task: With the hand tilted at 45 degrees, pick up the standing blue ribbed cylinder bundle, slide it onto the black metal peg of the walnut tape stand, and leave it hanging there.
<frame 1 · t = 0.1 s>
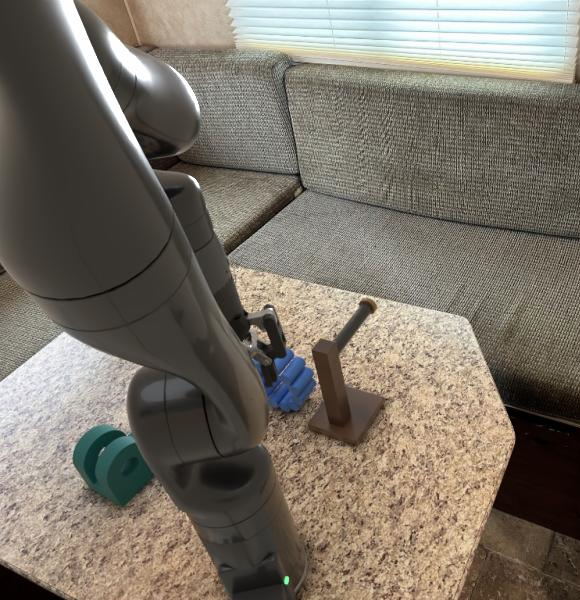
hand: (233, 388, 70), 17 cm above the table, tool pointing down, fingers open, 8 cm apart
bracket: (156, 448, 87), on the table
cup: (156, 327, 108), on the table
blue ribbed cylinder bundle: (287, 400, 91), on the table
pill bottle: (223, 322, 107), on the table
tape stand: (341, 424, 87), on the table
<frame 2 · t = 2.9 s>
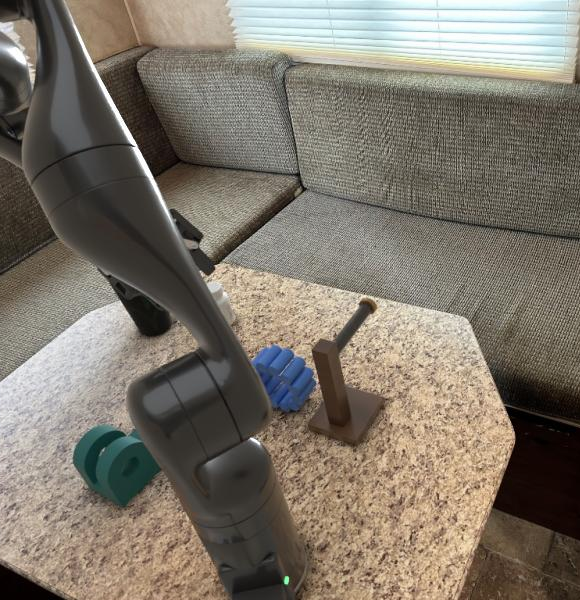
hand: (192, 289, 85), 18 cm above the table, tool tilted 45°, fingers open, 8 cm apart
nothing on the table moved.
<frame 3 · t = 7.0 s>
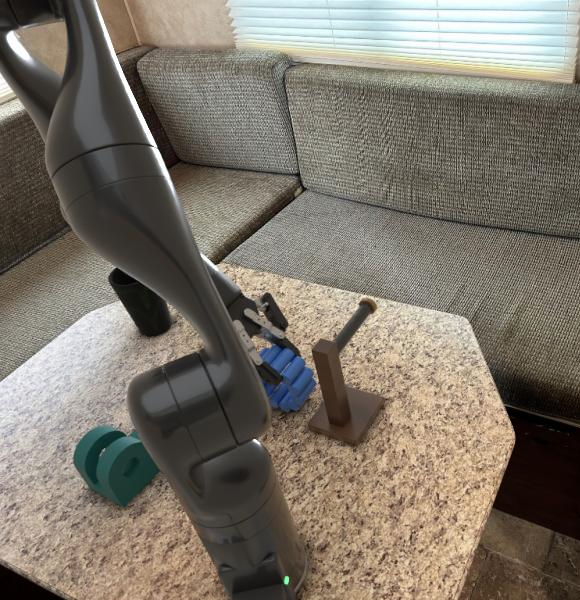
hand: (288, 370, 86), 7 cm above the table, tool tilted 45°, fingers closed on blue ribbed cylinder bundle, 4 cm apart
blue ribbed cylinder bundle: (287, 400, 91), on the table, touching gripper
everything else where it was.
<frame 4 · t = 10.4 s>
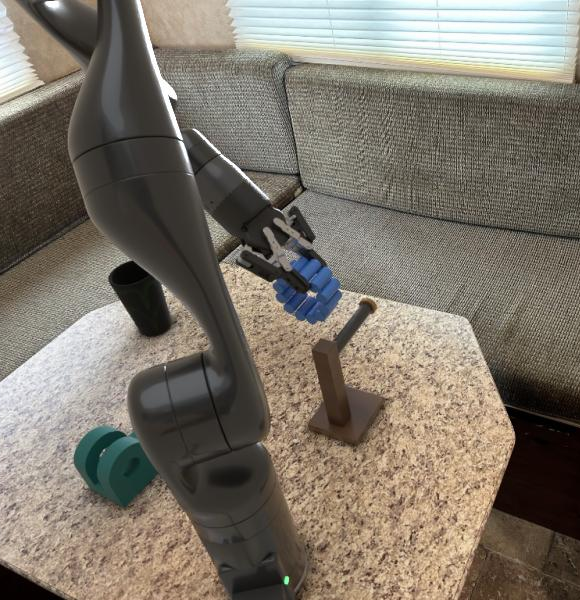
hand: (316, 280, 88), 15 cm above the table, tool tilted 45°, fingers closed on blue ribbed cylinder bundle, 4 cm apart
blue ribbed cylinder bundle: (313, 314, 93), point 8 cm above the table, touching gripper
everything else where it was.
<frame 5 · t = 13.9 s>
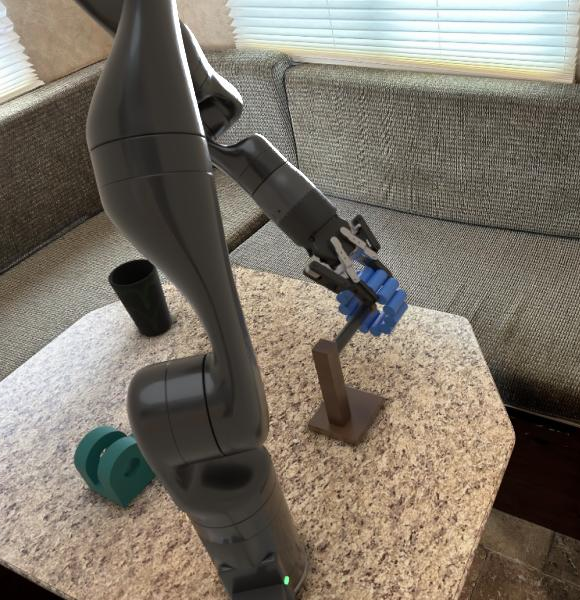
hand: (382, 292, 85), 15 cm above the table, tool tilted 45°, fingers closed on blue ribbed cylinder bundle, 4 cm apart
blue ribbed cylinder bundle: (375, 326, 90), point 8 cm above the table, touching gripper
everything else where it was.
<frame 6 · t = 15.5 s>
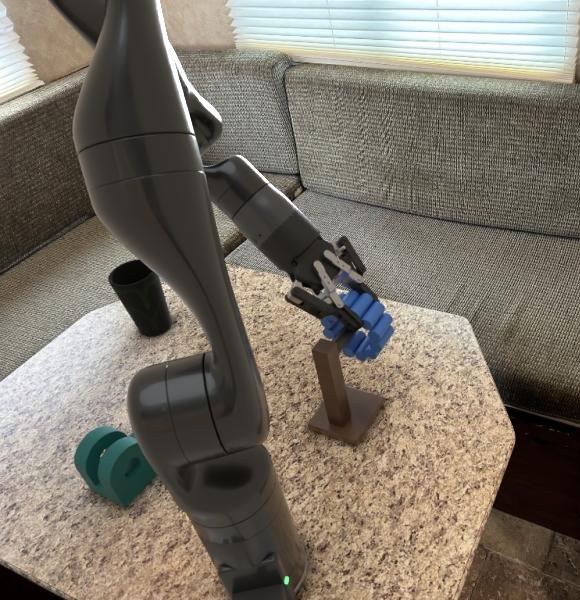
hand: (367, 316, 83), 14 cm above the table, tool tilted 45°, fingers closed on blue ribbed cylinder bundle, 4 cm apart
blue ribbed cylinder bundle: (361, 350, 88), point 7 cm above the table, touching gripper
everything else where it was.
when the fingers open (15 cm above the table, at t = 20.6 s): blue ribbed cylinder bundle drops 2 cm, resting on tape stand.
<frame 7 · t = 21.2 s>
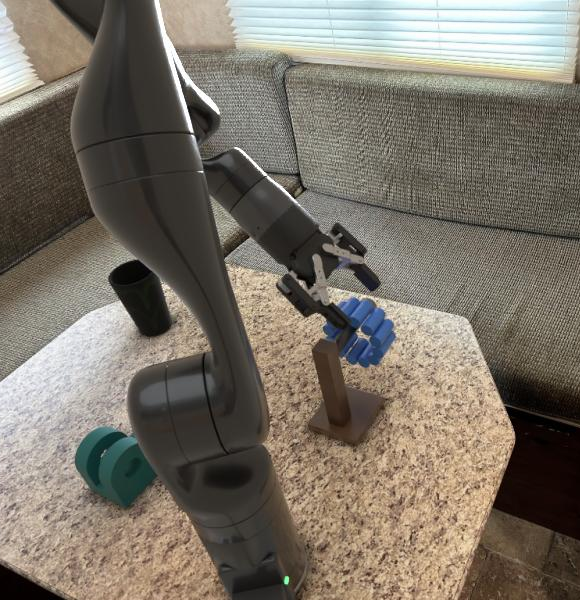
hand: (362, 306, 82), 16 cm above the table, tool tilted 45°, fingers open, 8 cm apart
blue ribbed cylinder bundle: (364, 357, 88), point 6 cm above the table, touching tape stand
everything else where it was.
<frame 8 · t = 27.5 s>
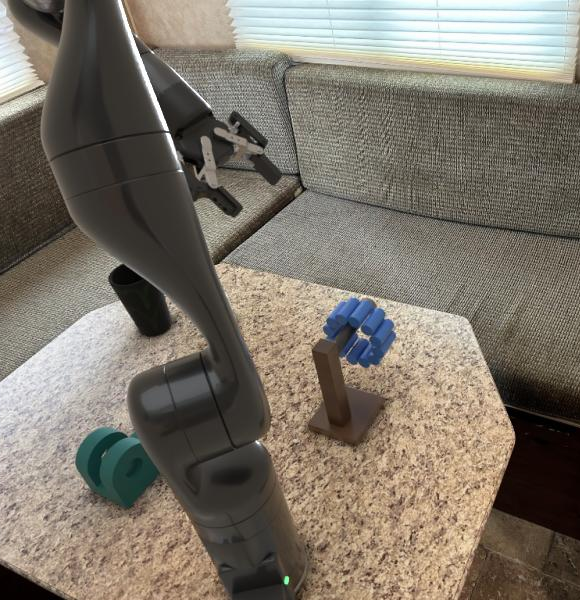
hand: (259, 196, 78), 31 cm above the table, tool tilted 45°, fingers open, 8 cm apart
nothing on the table moved.
at the end: blue ribbed cylinder bundle 0.4 cm from the target spot on the tape stand, point 6.1 cm above the tape stand's base; blue ribbed cylinder bundle touching tape stand; the gripper is holding nothing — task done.
